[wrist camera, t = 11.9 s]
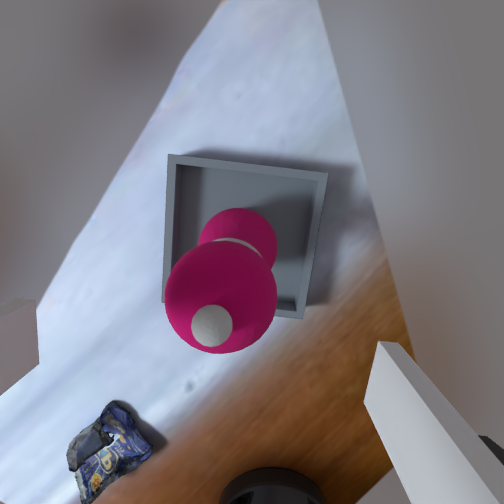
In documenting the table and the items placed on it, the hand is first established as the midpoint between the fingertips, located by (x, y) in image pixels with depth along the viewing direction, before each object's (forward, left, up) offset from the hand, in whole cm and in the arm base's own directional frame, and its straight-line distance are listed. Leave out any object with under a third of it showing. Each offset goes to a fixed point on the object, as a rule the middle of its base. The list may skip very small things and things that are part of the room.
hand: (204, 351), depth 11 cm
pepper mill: (0, 0, -21) cm, 21 cm away
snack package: (-29, +15, -22) cm, 40 cm away
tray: (0, 0, -22) cm, 22 cm away
